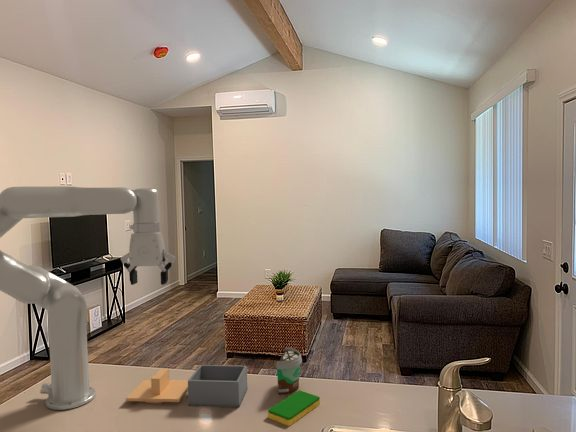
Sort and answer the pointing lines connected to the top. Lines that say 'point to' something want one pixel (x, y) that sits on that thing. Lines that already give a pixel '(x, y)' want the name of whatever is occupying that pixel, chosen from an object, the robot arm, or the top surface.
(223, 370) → the tub
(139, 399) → the lid
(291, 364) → the food container
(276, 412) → the dish sponge
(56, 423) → the top surface
